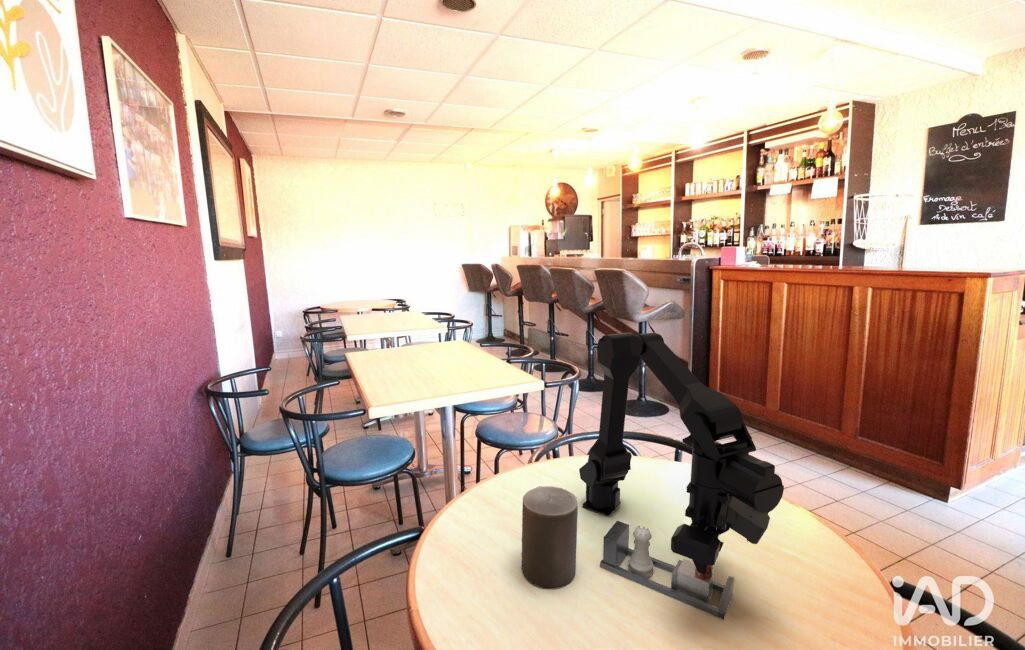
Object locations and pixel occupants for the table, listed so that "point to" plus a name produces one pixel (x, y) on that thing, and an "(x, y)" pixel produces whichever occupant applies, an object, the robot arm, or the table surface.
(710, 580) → the ram
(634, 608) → the table surface
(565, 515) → the pillar candle
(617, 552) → the press bed
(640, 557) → the rook chess piece
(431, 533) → the table surface
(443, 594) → the table surface
